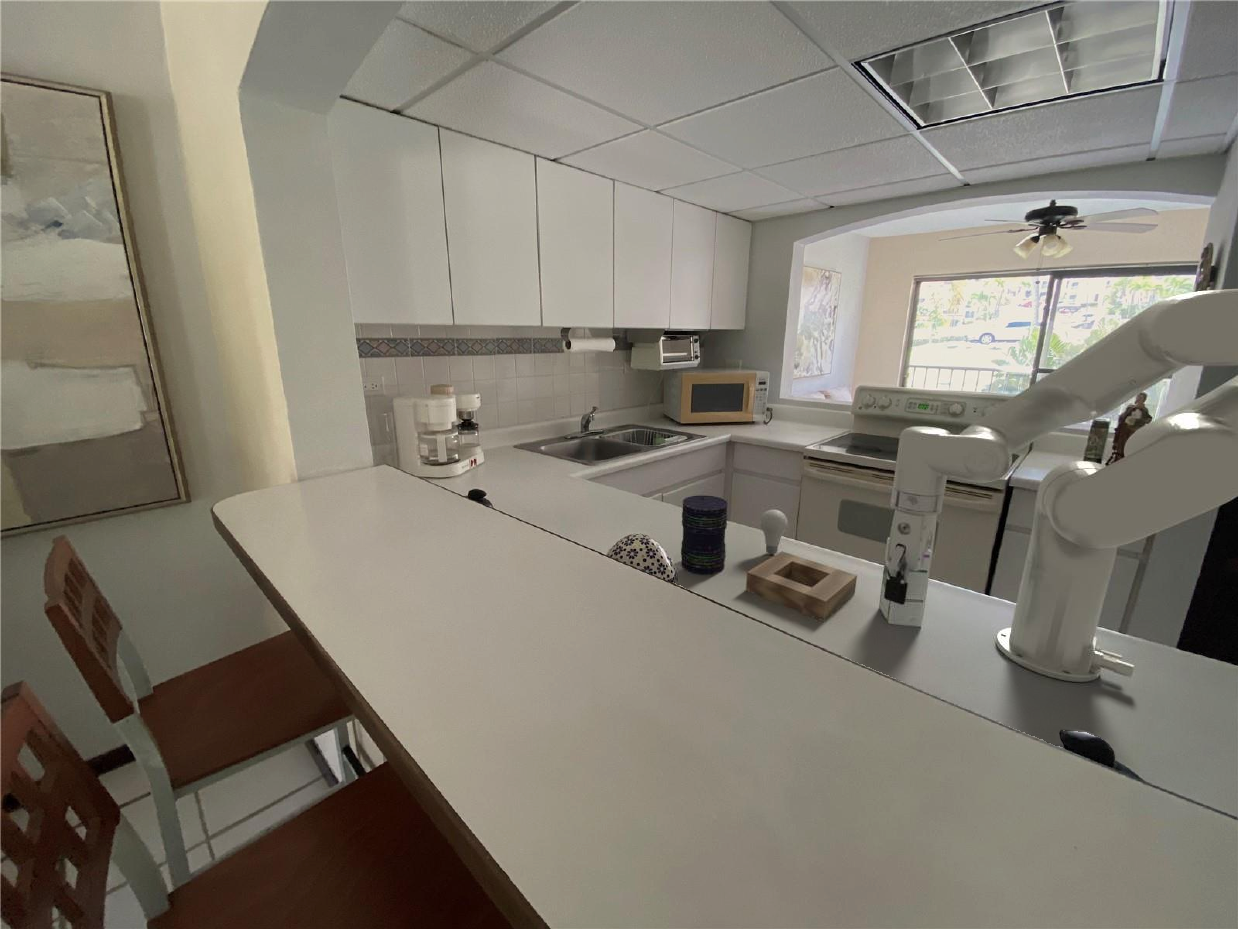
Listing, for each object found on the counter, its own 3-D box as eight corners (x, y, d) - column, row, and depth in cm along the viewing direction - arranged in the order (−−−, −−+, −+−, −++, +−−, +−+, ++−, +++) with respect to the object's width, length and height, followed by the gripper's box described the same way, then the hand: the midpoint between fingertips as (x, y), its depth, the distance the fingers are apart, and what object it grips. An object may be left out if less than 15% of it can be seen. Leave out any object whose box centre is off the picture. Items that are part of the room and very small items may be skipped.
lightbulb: (788, 552, 117) (791, 508, 114) (780, 562, 112) (784, 516, 109) (762, 547, 120) (765, 504, 117) (754, 556, 115) (757, 511, 112)
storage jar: (729, 575, 106) (732, 509, 102) (683, 575, 106) (685, 510, 102) (719, 555, 115) (722, 494, 112) (678, 556, 115) (679, 495, 112)
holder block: (854, 593, 98) (857, 575, 97) (823, 621, 88) (826, 601, 87) (780, 567, 109) (781, 551, 108) (745, 590, 99) (747, 572, 98)
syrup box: (923, 627, 86) (935, 551, 82) (886, 624, 87) (897, 548, 84) (911, 610, 92) (922, 538, 88) (876, 607, 93) (886, 535, 89)
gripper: (926, 518, 75) (909, 620, 80) (955, 493, 87) (939, 583, 91) (874, 506, 81) (861, 602, 85) (908, 484, 92) (896, 570, 97)
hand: (902, 592), depth 88 cm, fingers closed on syrup box, 7 cm apart
